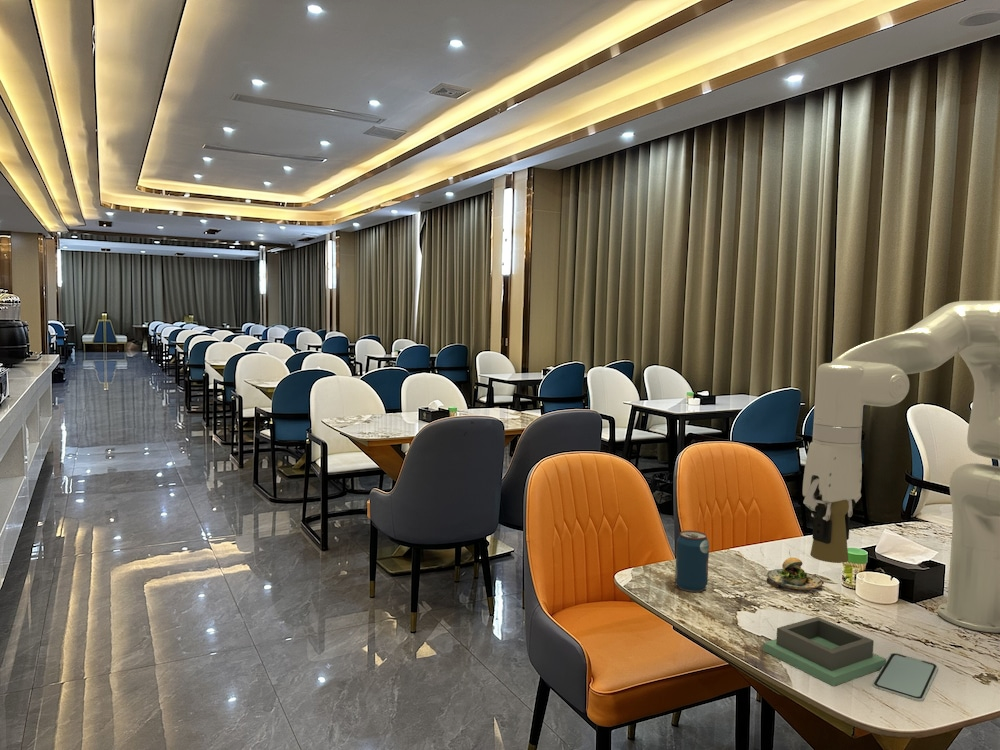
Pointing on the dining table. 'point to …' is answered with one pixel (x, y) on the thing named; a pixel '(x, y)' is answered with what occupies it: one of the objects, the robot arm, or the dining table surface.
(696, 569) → the soda can
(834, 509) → the olive brown pawn
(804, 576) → the burger
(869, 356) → the robot arm
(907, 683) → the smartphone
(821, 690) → the dining table surface
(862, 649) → the socket board
